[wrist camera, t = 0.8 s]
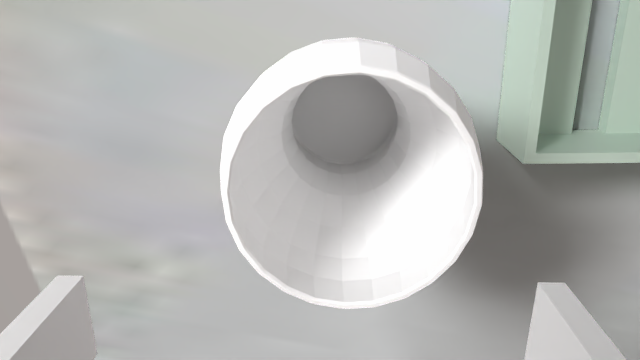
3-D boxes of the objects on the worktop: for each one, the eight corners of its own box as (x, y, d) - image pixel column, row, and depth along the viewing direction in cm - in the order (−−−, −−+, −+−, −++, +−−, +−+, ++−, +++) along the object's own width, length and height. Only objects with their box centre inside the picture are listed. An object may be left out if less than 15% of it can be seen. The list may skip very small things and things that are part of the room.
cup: (452, 144, 33) (541, 256, 19) (309, 212, 35) (292, 359, 21) (383, -10, 30) (429, -14, 16) (229, 73, 32) (147, 136, 18)
